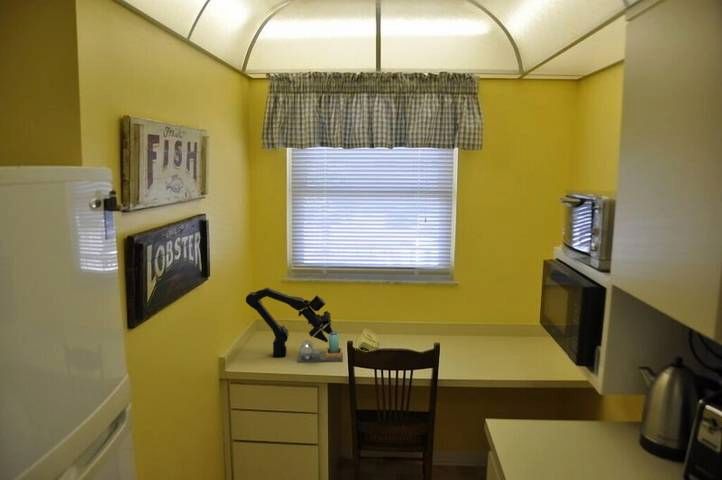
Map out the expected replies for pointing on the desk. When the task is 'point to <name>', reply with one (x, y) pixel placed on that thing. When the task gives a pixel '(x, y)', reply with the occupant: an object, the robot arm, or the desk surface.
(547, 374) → the desk surface
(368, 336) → the plastic component
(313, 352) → the motor assembly
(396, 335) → the desk surface
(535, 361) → the desk surface
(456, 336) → the desk surface
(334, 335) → the teal cylinder grey dome
